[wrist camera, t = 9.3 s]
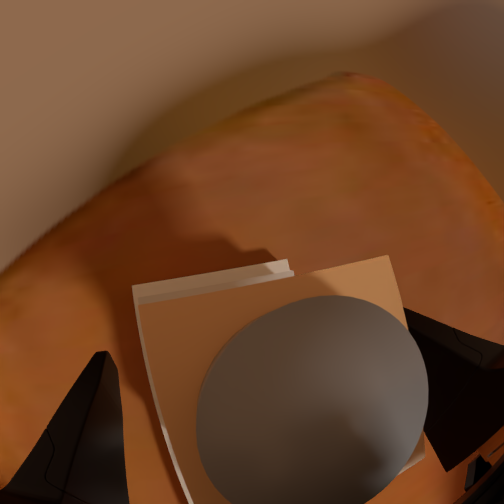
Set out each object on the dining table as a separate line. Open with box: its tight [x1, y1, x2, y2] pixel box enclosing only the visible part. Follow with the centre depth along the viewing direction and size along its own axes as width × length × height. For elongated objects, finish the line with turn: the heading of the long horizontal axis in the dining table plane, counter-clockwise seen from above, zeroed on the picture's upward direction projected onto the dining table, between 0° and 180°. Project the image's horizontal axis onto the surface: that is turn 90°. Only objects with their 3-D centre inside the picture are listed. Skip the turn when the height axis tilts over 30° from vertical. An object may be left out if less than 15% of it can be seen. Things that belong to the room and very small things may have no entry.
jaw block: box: [138, 255, 428, 504], centre depth 10 cm, size 4×4×14 cm
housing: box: [132, 259, 294, 504], centre depth 14 cm, size 18×10×5 cm, turn 13°
